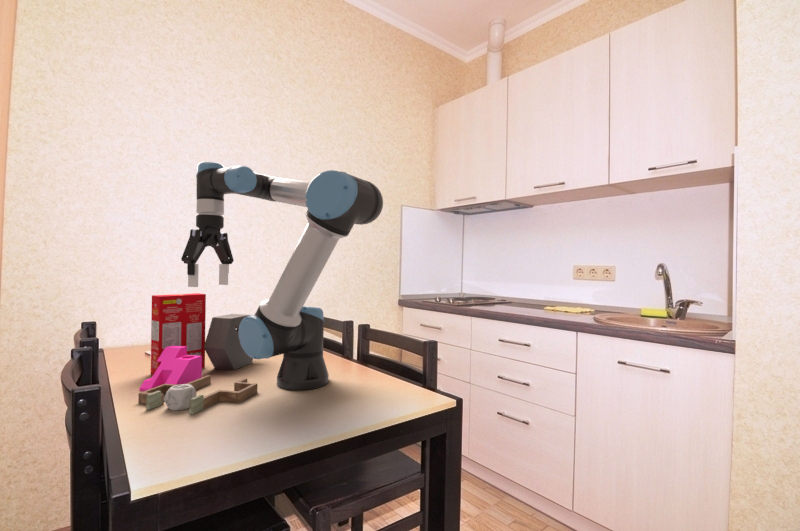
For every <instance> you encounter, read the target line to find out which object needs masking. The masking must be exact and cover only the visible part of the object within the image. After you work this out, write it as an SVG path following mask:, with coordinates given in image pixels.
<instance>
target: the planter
mask: <svg viewBox="0 0 800 531" xmlns="http://www.w3.org/2000/svg"><path fill="white" fill-rule="evenodd" d="M249 315H250V314H243V313H241V314H240V313H230V314H224V315H218V316H217V315H216V316H213V317H212V318H211V322H210V325H209V328H208V331H207V336H206V337H205V345H204V349H205V354H206V355H207V357H208V358H209V361H210V362H211V365H212V366H213V369H220V370H229V371H230V370H231V371H236V370H237V369H241V368H243V367H245V366H248V365H250V364H253V361H254V359H253V358H251V357H249V356H248V355H247V354H246V353H245V352H244V350H243V349H242V347H241V344H240V340H239V336H238V330H239V325H240V323H241V321H242V320H243V319H244V318H245V317H247V316H249Z"/></svg>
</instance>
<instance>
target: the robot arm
mask: <svg viewBox="0 0 800 531" xmlns="http://www.w3.org/2000/svg"><path fill="white" fill-rule="evenodd" d="M196 169H197V170H196V174H195V177H196V178H195V179H196V212H195V213H197V215H196V217H195V227H196V229H195V228H194V229H193V228H192V229H191V228H190V230H189V237H188V241H187V242H186V245H185V248H184V250H183V253H182V256H181V258H180V259H181V261H182V262H183V264H187V267H186V268H187V272H186V274H187V287H188V288H198V287H199V263H197V262H198V261H199V258H200V257H201V255H202V254H203V252H204V251H205V249H206V248H207V247H211V248H212V249H213V250H214V252H215V254H216V255H217V258H218V260H219V261H220V263H219V264H218V268H219V269H218V285H220V286H222V285H223V286H228V285H229V270H230V269H229V268H230V267H229V266H230V265H232V264H233V263H234V256H233V253H232V250H231V246H230V243H229V239H228V237H229V235H228V234H229V233H228V232H221V230H222V229H224V227H225V226H224V225H225V224H224V222H225V221H224V220H225V218H224V217H223V215H225V195H231V194H233V195H241V196H245V197H249V198H251V197H252V198H256V199H259V200H265V201H270V202H278V203H282V204H288V205H294V206H297V207H298V206H299V207H303V208H307V210H306V213H305V217H306V219H307V224H306V226H305V228H304V231H303V232H302V235H301V236H300V238H299V240H298V243H297V245H295V247H294V250H293V252H292V254H291V255H290V257H289V259H288V262H287V263H286V265H285V268H284V270H283V271H282V273H281V275H280V276H279V277H280V278H279V279H278V281H277V283H276V285H275V288H274V289H273V292H271V296H270V298H268V299H264V300H262V301H261V302H260V304H259V305H258V308H257V309H256V311H255V313H254V314H248V315H249V316H247V317H245V318H244V319H243V320H242V321H241V323H240V325H239V330H238V336H239V340H240V344H241V347H242V349H243V350H244V352H245V353H246V354H247V355H248V356H249V357H251V358H253V360H264V359H271V358H273V357H277V356H281V355H283V356H282V361H281V363H280V366H279V369H278V372H277V376H276V385H277V387H279V388H281V389H284V390H294V391H305V390H314V389H318V388H321V387H325V386H326V385H327V384H328V383H329V380H330V379H329V370H328V368H327V365H326V362H325V359H324V333H325V332H324V328H325V327H324V326H325V324H324V323H325V318H324V311H323V309H322V308H321V307H315V306H305V303H306V302H307V300H308V298H309V296H310V294H311V292H312V291H313V289H314V287H315V285H316V282H317V281H318V279H319V277H320V275H321V273H323V270H324V268H325V266H326V265H327V263H328V261H329V259H330V257H331V255H332V254H333V251H334V249H335V248H336V246H337V244H338V242H339V241H340V239H342V238H347V237H349V234H350V232H351V231H352V229H353V227H354V226H355V225H368V224H370V223H372V222H374V221H375V220H377V219H378V217H379V216H380V215H381V213H382V211H383V206H384V199H383V198H384V197H383V194H382V193H381V191H380V189H379V188H378V187H377V186H376V184H374V183H372V182H371V181H368V180H364V179H362V178H359V177H357V176H355V175H351V174H349V173H347V172H346V171H345V172H344V171H338V170H333V169H332V170H331V169H330V170H325V171H322V172H320V173H318V174H317V175H316V176H315V177H313V178H312V180H311V181H306V180H305V181H304V180H298V179H292V178H285V177H277V176H271V175H266V174H262V173H259V172H255V171H254V170H252V168H251V167H250V166H246V165H237V164H236V165H231V166H227V167H225V166H224V165H223V164H222V163H220V162H215V161H201V162H199V163H198V164H197V167H196Z"/></svg>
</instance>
